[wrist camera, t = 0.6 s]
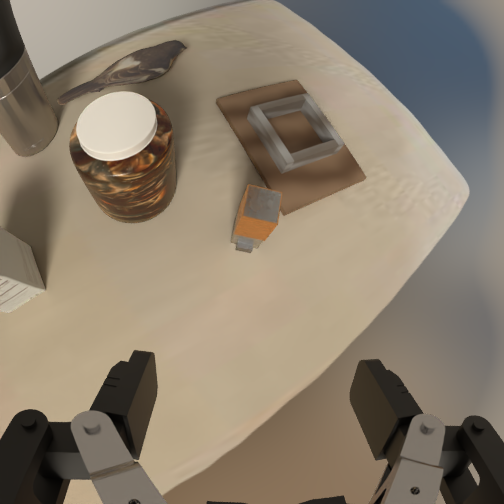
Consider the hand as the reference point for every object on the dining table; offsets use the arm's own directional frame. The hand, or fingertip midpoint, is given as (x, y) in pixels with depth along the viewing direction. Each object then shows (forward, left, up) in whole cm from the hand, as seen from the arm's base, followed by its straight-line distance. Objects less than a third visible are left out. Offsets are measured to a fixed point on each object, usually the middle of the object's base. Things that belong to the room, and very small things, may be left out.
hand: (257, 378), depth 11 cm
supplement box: (-19, -21, -28) cm, 40 cm away
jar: (-24, 0, -28) cm, 37 cm away
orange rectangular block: (-11, +11, -28) cm, 32 cm away
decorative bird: (-44, +5, -28) cm, 52 cm away
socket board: (-22, +25, -28) cm, 44 cm away
